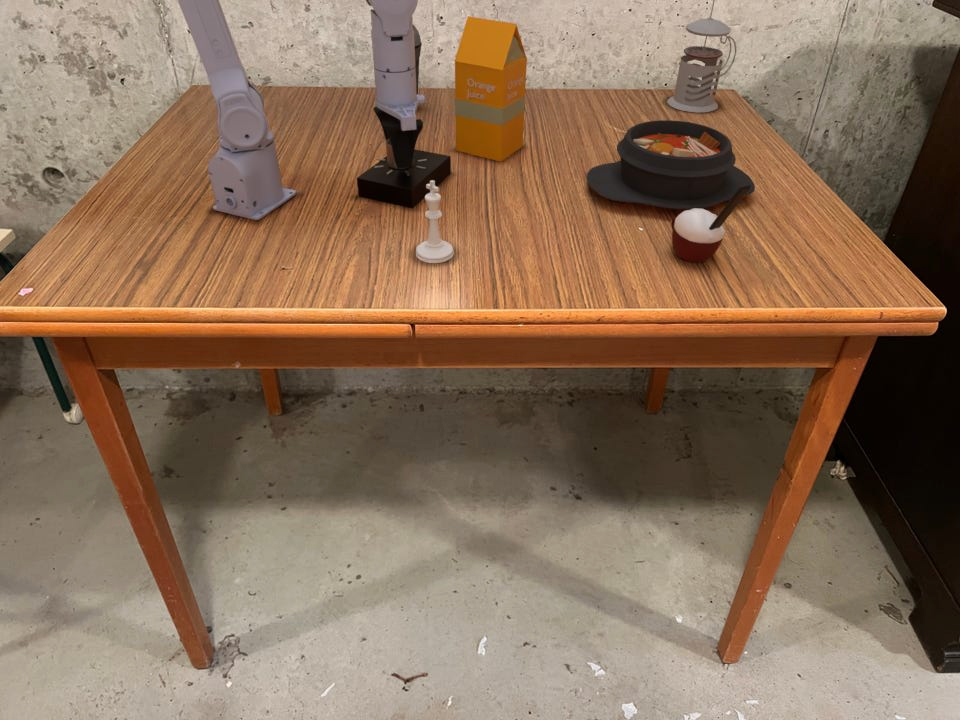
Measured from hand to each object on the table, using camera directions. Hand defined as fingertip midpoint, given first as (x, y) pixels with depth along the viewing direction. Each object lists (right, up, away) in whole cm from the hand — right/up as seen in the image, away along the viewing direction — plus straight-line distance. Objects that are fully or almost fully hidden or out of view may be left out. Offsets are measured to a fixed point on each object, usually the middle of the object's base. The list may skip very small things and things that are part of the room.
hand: (400, 161), depth 103 cm
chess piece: (+6, -16, -14) cm, 22 cm away
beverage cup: (-2, +18, +28) cm, 33 cm away
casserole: (+40, -5, +1) cm, 41 cm away
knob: (0, 0, 0) cm, 0 cm away
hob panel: (+1, -3, +2) cm, 4 cm away
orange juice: (+14, +6, +13) cm, 20 cm away
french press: (+55, +20, +32) cm, 66 cm away
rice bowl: (+40, -17, -14) cm, 45 cm away
